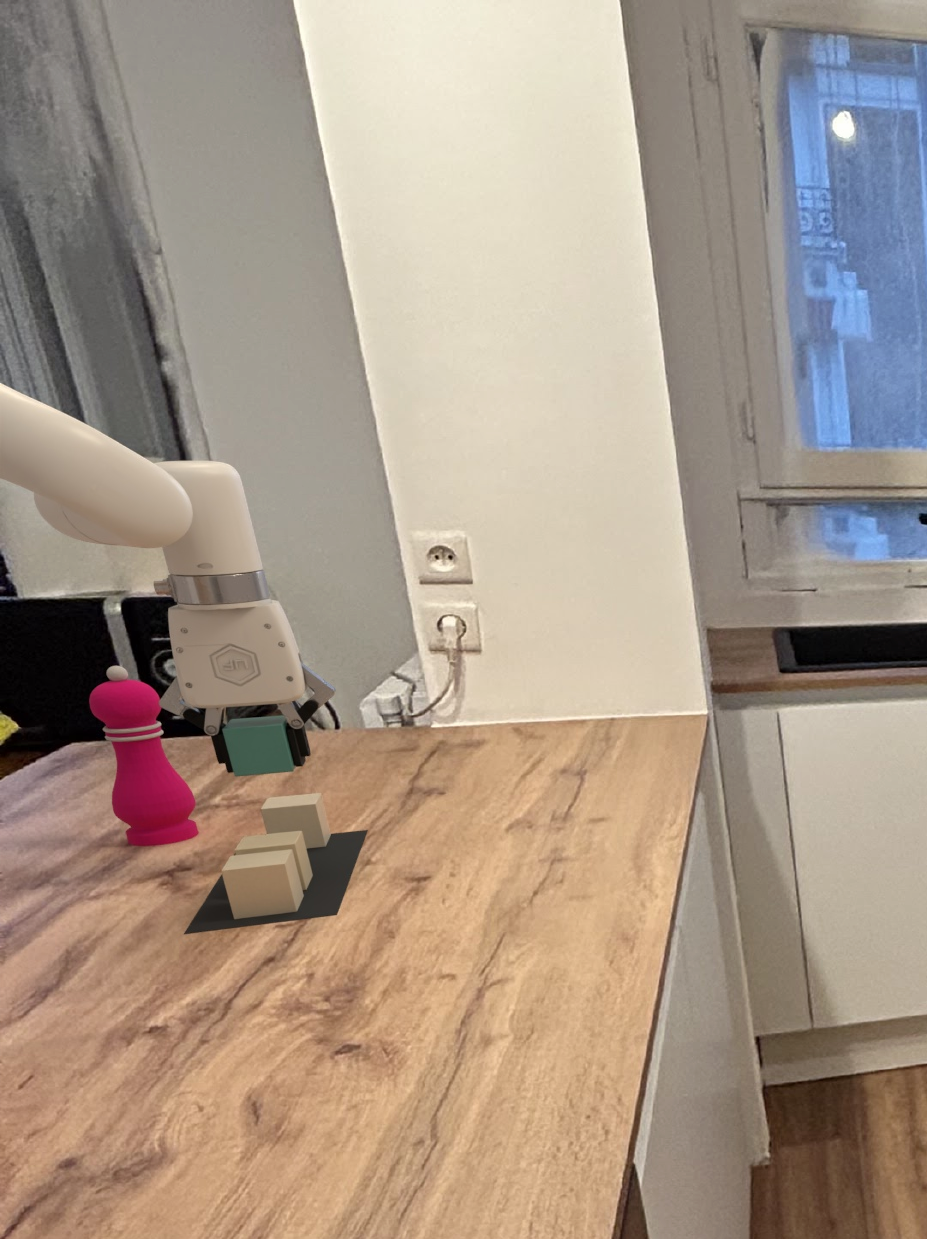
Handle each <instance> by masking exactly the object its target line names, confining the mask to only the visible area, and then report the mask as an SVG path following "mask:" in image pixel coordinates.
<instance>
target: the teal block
mask: <svg viewBox="0 0 927 1239" xmlns="http://www.w3.org/2000/svg"><path fill="white" fill-rule="evenodd" d="M287 722H288V721H287V720H286V718H285V717H284V715H283V714H282V715H272V716H261V717H260V716H259V717H257V716H256V717H243V718H232V719H230V720H228V722H227V724H226V726H225V727H224V728H223V729H222V731H223V735H224V738H225V742H226V746H227V750H228V753H229V757H230V761H231V765H232V768H233V775H234V777H236V778H237V777H238V778H239V777H249V776H259V775H269V774H271V775H273V774H283V773H293V772H295V769H296V768H297V767H296V766H294V763H293V759H292V755H291V751H290V747H289V743H288V739H287V735H286V730H287V728H288V727H287Z"/></svg>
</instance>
